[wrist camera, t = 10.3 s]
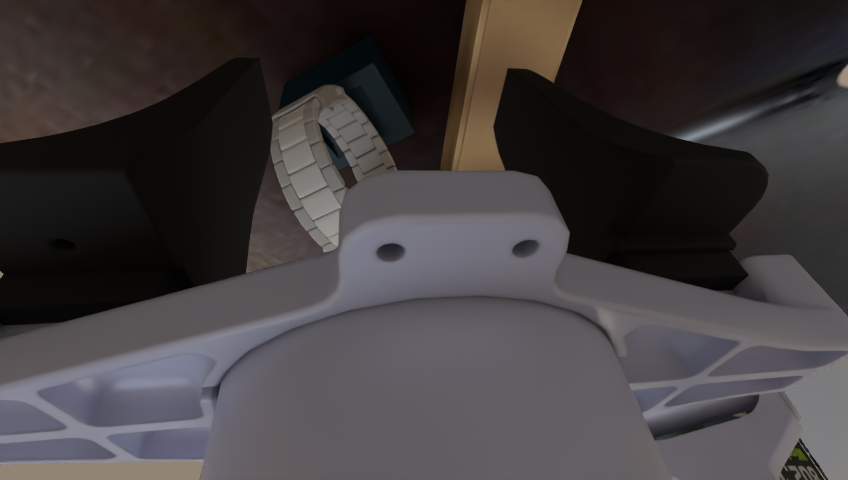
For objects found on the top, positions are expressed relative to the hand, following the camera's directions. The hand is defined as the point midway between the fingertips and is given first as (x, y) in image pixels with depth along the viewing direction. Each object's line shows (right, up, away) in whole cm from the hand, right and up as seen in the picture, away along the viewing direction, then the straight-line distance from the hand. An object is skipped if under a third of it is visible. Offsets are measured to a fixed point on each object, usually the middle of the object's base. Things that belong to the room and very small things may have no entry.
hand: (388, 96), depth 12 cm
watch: (-3, +4, +11) cm, 12 cm away
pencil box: (+5, +5, +11) cm, 13 cm away
